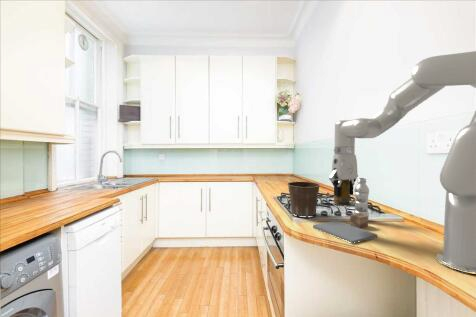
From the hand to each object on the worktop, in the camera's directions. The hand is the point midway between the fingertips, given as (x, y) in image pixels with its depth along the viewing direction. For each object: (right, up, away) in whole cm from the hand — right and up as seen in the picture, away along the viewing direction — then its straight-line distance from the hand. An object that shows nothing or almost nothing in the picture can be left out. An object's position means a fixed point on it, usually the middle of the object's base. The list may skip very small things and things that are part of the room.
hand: (343, 194), depth 102 cm
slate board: (0, -16, +1) cm, 16 cm away
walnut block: (+10, -15, +8) cm, 20 cm away
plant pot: (-10, -14, +26) cm, 31 cm away
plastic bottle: (+15, -15, +16) cm, 26 cm away
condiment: (0, -4, 0) cm, 4 cm away
